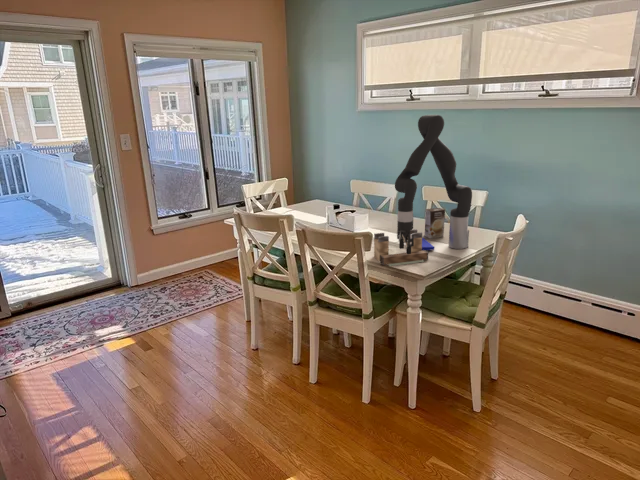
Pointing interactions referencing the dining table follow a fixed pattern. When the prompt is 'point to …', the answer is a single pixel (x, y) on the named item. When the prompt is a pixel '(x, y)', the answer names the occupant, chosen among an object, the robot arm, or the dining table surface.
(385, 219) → the dining table surface
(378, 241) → the post
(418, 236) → the post
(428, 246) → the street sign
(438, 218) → the coffee box
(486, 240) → the dining table surface
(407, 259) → the rail
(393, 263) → the mat
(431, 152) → the robot arm
